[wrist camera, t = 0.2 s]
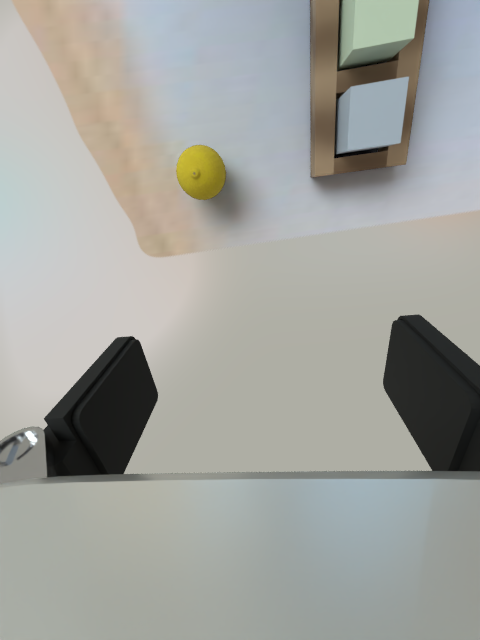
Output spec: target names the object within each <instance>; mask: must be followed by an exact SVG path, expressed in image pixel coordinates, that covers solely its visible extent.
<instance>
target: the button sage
mask: <svg viewBox="0 0 480 640" xmlns="http://www.w3.org/2000/svg"><path fill="white" fill-rule="evenodd" d="M418 4H419V0H340V22H339V51H338V70H341V69H347V68H352V67H358V66H363V65H369V64H374V63H379V62H385V61H389V60H390V59H391V58H392V57H394V56H395V55H396V54H397V53H398V52H399V51H400V50H401V49H402V48H404V47H405V46H406V45H407V44H408V43H409V42H410V41H411V40H412V39H414V35H415V27H416V19H417V12H418Z"/></svg>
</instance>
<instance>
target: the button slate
mask: <svg viewBox="0 0 480 640" xmlns="http://www.w3.org/2000/svg"><path fill="white" fill-rule="evenodd" d="M408 81H409V77H403V78H397V79H392V80H386V81H380V82H374V83H369V84H363V85H357V86H352V87H350V88H349V89H348V90H347V91H346V92H345V93H344V94H343V95H342V96H341V97H340V98H339V99H338V100H337V110H336V140H335V155H336V154H343V153H349V152H356V151H363V150H370V149H376V148H382V147H386V146H390V145H394V144H398V143H401V135H402V127H403V120H404V112H405V104H406V97H407V89H408Z"/></svg>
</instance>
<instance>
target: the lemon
mask: <svg viewBox="0 0 480 640" xmlns="http://www.w3.org/2000/svg"><path fill="white" fill-rule="evenodd" d="M176 172H177V178H178V181H179V184H180V186H181V187H182V189H183V190H184V191H185V192H186V193H187V194H188V195H190V196H191V197H193V198H196V199H199V200H206V199H210V198H213V197H214V196H216V195H217V194H218V193H219V192H220V191H221V189H222V188H223V186H224V183H225V179H226V170H225V165H224V163H223V160H222V158H221V157H220V156H219V154H218V153H217V152H216V151H214V150H213V149H212V148H210V147H208V146H204V145H195V146H192V147H190V148H187V149H186V150H185V151H184V152H183V153H182V154H181V156H180V158H179V160H178V163H177V170H176Z"/></svg>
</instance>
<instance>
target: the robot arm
mask: <svg viewBox="0 0 480 640" xmlns="http://www.w3.org/2000/svg"><path fill="white" fill-rule="evenodd" d="M383 385H384V389H385V391H386V393H387V394H388V396H389V398H390V400H391V401H392V403H393V405H394V406H395V408H396V410H397V411H398V413H399V415H400V416H401V418H402V420H403V421H404V423H405V425H406V427H407V428H408V430H409V432H410V433H411V435H412V437H413V438H414V440H415V442H416V444H417V445H418V447H419V449H420V450H421V452H422V454H423V455H424V457H425V458H426V460H427V462H428V464H429V466H430V467H431V469H432V471H328V472H327V471H313V472H312V471H311V472H232V473H231V472H229V473H228V472H227V473H168V474H167V473H165V474H124V471H125V469H126V467H127V465H128V463H129V461H130V458H131V456H132V454H133V452H134V450H135V447H136V445H137V443H138V441H139V439H140V437H141V435H142V432H143V430H144V428H145V426H146V424H147V421H148V419H149V417H150V415H151V413H152V411H153V409H154V406H155V404H156V402H157V399H158V392H157V389H156V386H155V383H154V380H153V378H152V375H151V372H150V369H149V366H148V363H147V361H146V358H145V355H144V352H143V349H142V346H141V344H140V342H139V340H136V339H135V338H134V337H132V336H130V337H118V338H116V339H115V340H114V341H113V343H112V344H111V345H110V346H109V347H108V348H107V349H106V350H105V351H104V352H103V354H102V355H101V356H100V357H99V358H98V359H97V360H96V361H95V362H94V364H93V365H92V366H91V367H90V368H89V369H88V370H87V371H86V372H85V373H84V375H83V376H82V377H81V378H80V379H79V380H78V381H77V382H76V384H75V385H74V386H73V387H72V388H71V389H70V390H69V391H68V392H67V394H66V395H65V396H64V397H63V398H62V399H61V400H60V401H59V402H58V404H57V405H56V406H55V407H54V408H53V409H52V410H51V412H50V413H49V414H48V415H47V416H46V417H45V418H44V420H45V421H46V422H47V424H48V426H47V427H46V428H45V429H44V430H43V429H42V428H40V427H28V428H24V429H21V430H19V431H16V432H14V433H12V434H10V435H9V436H7V437H5V438H4V439H2V440H1V441H0V640H480V366H479V365H478V364H477V363H476V362H475V361H473V360H472V359H471V358H470V357H469V356H468V355H467V354H465V353H464V352H463V351H462V350H461V349H459V348H458V347H457V346H456V345H455V344H454V343H452V342H451V341H450V340H449V339H448V338H447V337H445V336H444V335H443V334H442V333H441V332H440V331H438V330H437V329H436V328H435V327H434V326H432V325H431V324H430V323H429V322H428V321H427V320H425V319H424V318H423V317H422V316H420V315H408V316H400V317H399V318H398V320H395V321H394V322H393V324H392V329H391V335H390V341H389V348H388V354H387V360H386V367H385V373H384V379H383Z"/></svg>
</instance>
